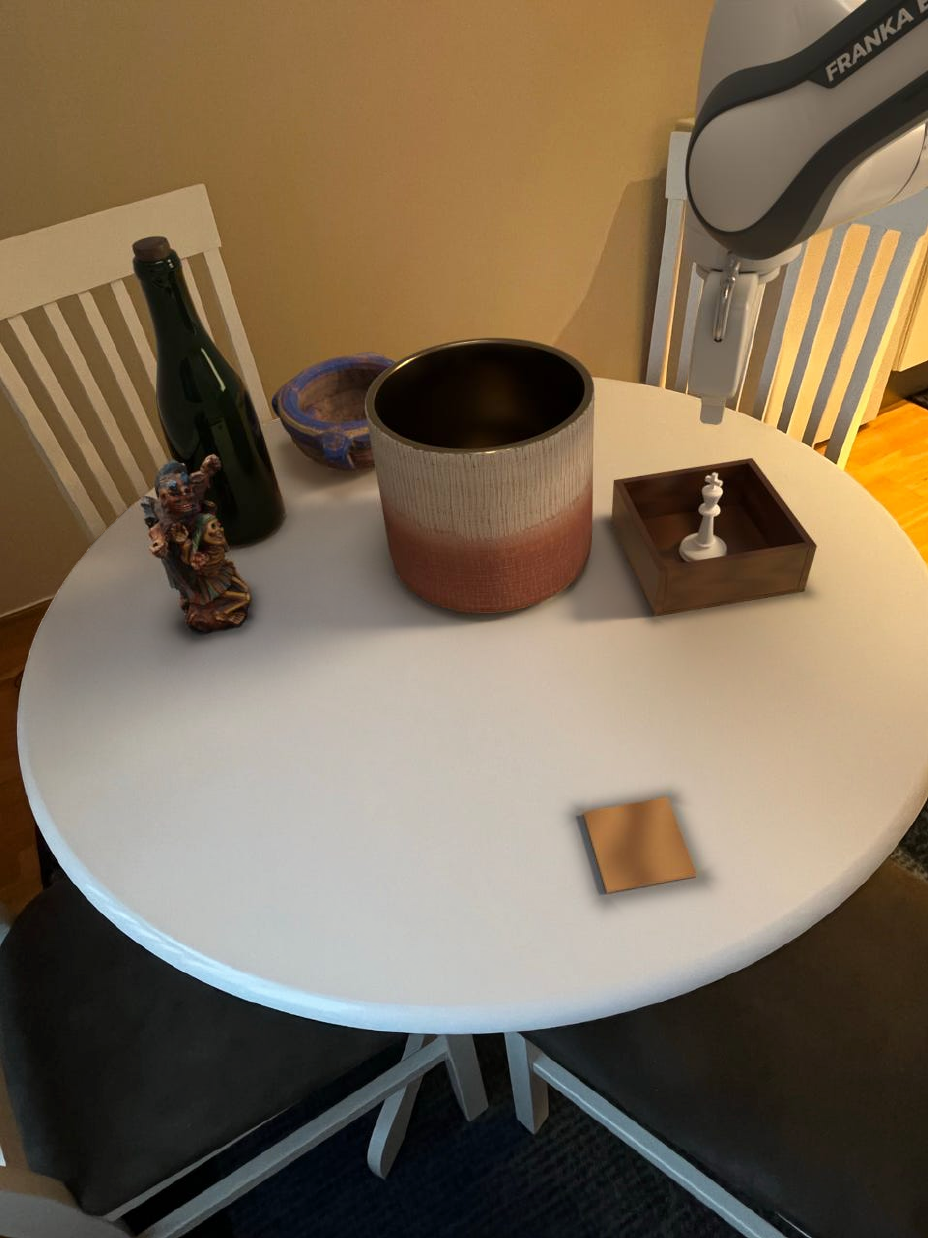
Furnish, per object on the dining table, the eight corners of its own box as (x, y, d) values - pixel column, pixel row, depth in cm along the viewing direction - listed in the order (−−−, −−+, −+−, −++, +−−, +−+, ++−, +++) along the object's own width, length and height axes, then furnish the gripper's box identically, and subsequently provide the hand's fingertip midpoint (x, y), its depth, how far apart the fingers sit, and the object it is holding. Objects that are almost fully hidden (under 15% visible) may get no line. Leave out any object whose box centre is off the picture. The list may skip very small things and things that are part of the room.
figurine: (284, 628, 86) (237, 485, 74) (198, 661, 84) (135, 519, 71) (255, 570, 93) (208, 431, 81) (175, 599, 91) (114, 460, 78)
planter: (629, 580, 87) (642, 410, 73) (434, 650, 82) (408, 482, 68) (536, 474, 102) (532, 316, 88) (366, 528, 97) (333, 370, 83)
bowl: (324, 512, 100) (306, 440, 93) (273, 445, 112) (254, 378, 105) (454, 462, 106) (446, 391, 99) (392, 403, 117) (382, 336, 110)
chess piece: (696, 531, 91) (707, 454, 84) (735, 550, 89) (750, 471, 82) (669, 553, 89) (679, 476, 82) (709, 573, 86) (722, 494, 79)
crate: (744, 501, 95) (752, 457, 91) (804, 590, 84) (817, 545, 80) (611, 522, 94) (613, 479, 90) (654, 616, 83) (659, 571, 79)
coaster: (666, 799, 68) (667, 796, 68) (696, 876, 63) (697, 874, 63) (583, 814, 68) (583, 811, 67) (606, 893, 63) (606, 891, 62)
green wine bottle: (234, 489, 105) (142, 216, 82) (303, 505, 102) (227, 223, 79) (182, 539, 99) (66, 257, 76) (254, 558, 95) (156, 267, 72)
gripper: (774, 286, 55) (742, 462, 65) (797, 182, 68) (768, 341, 78) (677, 280, 57) (660, 452, 67) (719, 180, 70) (700, 336, 80)
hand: (719, 391), depth 73 cm, fingers open, 8 cm apart
